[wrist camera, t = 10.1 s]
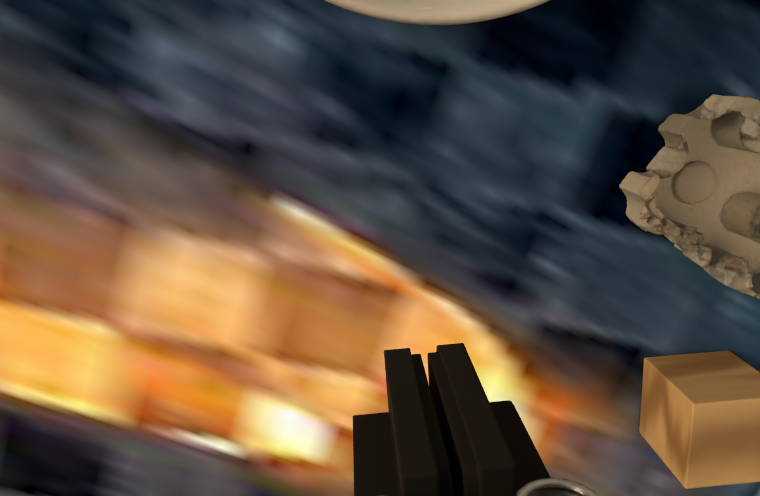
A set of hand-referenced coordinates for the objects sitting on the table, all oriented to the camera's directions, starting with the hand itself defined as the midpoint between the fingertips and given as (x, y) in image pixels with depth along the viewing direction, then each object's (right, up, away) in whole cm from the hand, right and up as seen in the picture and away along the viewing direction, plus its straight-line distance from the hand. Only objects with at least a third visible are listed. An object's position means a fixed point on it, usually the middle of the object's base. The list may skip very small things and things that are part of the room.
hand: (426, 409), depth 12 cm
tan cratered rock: (+17, +6, +19) cm, 26 cm away
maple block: (+17, -5, +22) cm, 28 cm away
